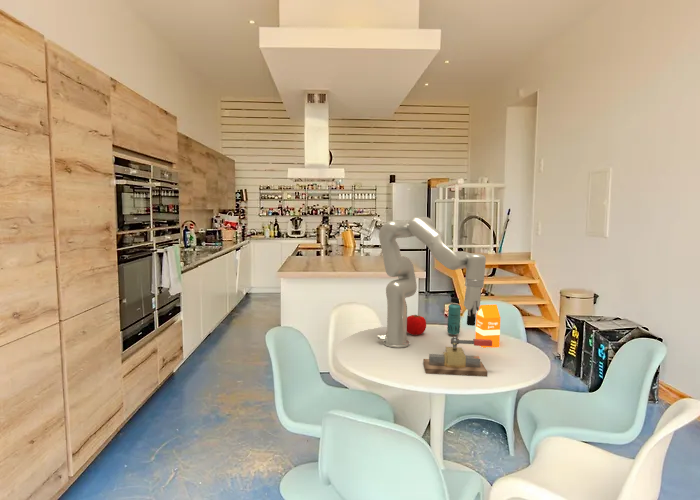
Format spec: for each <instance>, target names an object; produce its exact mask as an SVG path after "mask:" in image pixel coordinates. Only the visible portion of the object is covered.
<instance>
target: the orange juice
mask: <svg viewBox="0 0 700 500" xmlns="http://www.w3.org/2000/svg"><path fill="white" fill-rule="evenodd" d="M501 318H502V317H501V316H500V311H499V309H498V304H480V309H479V311H476V319H475V335H474V337H475V338H474V339H487V340H492V346H481V347H480V348H482V347H483V348H482V349H485V348H486V347H491V348H500V339H501V337H500V335H501Z"/></svg>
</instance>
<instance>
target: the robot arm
mask: <svg viewBox="0 0 700 500" xmlns="http://www.w3.org/2000/svg"><path fill="white" fill-rule="evenodd" d="M412 237H415V238H416V239H418V240H419V241H421V243H422V244H424V245H425V246H426V247H427V248H429V251H430V252H431V254H432V256H433V258H435V259H436V260H437V262H439V263H441V264H442V265H443V266H444V267H445V268H447V269H449V270H450V271H451V270H452V271H456V270H463V269H465V271H466V272H465V283H464V286H465V291H464V293H465V294H464V300H463V301H464V302H463V306H464V307H465V309H466V310H467V314H466V315H467V316H466V325H467V326H472V327H473V326H475V327H476V314H477V312H478V311H479V309H480V305H481V299H482V298H481V294H482V289H483V288H484V284H485V283H484V282H485V272H486V263H487V262H486V261H487V259H486V256H485V255H484V254H481V253H471V252H468V251H464V250H463V251H462V250H460V251H453V250H452V249H451V248H449V247H448V246H447V245H446V244H445V243H444V242H443V233H442V232H440V231H439V230H438V229H437V228H435V224H434V221H433V220H432V219H431V218H430V217H428V216H413V217H411V218H410V219H407V220H404V219H403V220H395V219H393V220H389V221H387V222H385V223H384V224H383V225H382V226H381V227H380V229H379V232H378V239H379V245H380V247H381V253H382V259H383V265H384V269H385V273H386V275H387V276H388V277H390V278H397V277H398V278H397V279H393V280H391V281H390V282H389V283H388V284H386V288H385V294H386V301H387V304H386V305H387V314H386V315H387V317H386V319H387V321H386V334H383V335H381V334H377V340H379V341H383V345H384V346H386V347H389V348H396V349H401V348H402V349H403V348H408V347H409V346H410V343H411V342H410V341H409V340H407V338H408V337H407V334H408V333H407V317H408V304H407V302H406V299H407V298H410V297H412V296H414V295H416V292H417V289H418V286H417V280H416V272H415V269H414V265H413V262H412V260H411V259H410V258H409V257H407V256H405V255H404V256H402V254H401V249H400V245H399V243H398V241H397V240H396V239H402V238H403V239H405V238H406V239H407V238H412Z"/></svg>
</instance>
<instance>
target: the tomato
mask: <svg viewBox="0 0 700 500" xmlns="http://www.w3.org/2000/svg"><path fill="white" fill-rule="evenodd" d="M426 328H427V320H426V318H425V317H424V316H421V315H418V314H410V315H407V334H409V335H411V336H419V335H422V334H423V333H424V332H426Z"/></svg>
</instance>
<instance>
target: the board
mask: <svg viewBox="0 0 700 500" xmlns="http://www.w3.org/2000/svg"><path fill="white" fill-rule="evenodd" d="M422 362H423V363H422V364H423V369H424V373H426V374H427V375H428V374H429V375H430V374H431V375H446V376H447V375H450V376H468V377H470V376H471V377H488V371H487V368H486V367H485V365H484V364H483V362H482V361H481V360H480V368H478V367H463V368H453V367H447V366H435V365H430V364H429V358H423V361H422ZM426 374H425V375H426Z"/></svg>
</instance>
